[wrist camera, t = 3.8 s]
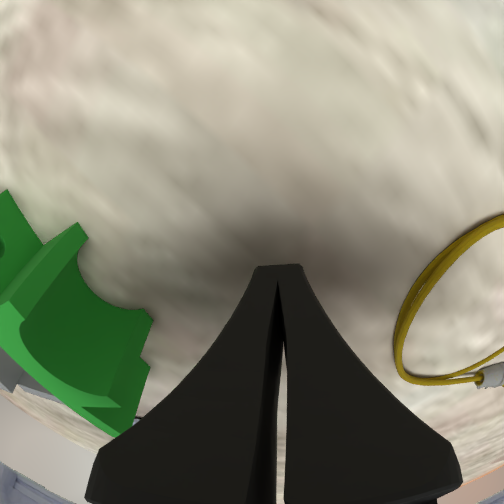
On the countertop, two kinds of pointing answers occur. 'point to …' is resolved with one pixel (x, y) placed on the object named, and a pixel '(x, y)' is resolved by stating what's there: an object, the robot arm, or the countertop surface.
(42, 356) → the pipe clamp
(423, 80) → the countertop surface
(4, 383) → the pegged forked bracket
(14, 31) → the countertop surface
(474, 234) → the extension cord
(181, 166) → the countertop surface
